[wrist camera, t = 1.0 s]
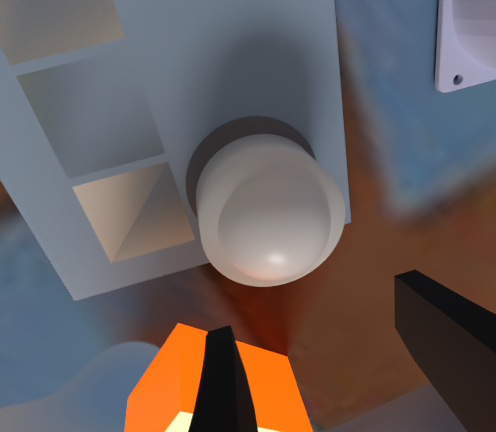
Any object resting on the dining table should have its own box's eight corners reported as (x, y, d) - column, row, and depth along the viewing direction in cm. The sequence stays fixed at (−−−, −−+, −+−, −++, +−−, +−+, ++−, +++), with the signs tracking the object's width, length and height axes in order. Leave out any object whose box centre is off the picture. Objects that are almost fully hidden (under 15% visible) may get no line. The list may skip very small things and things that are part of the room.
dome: (312, 118, 16) (362, 156, 12) (325, 230, 19) (369, 292, 15) (178, 154, 16) (182, 205, 12) (214, 262, 19) (227, 334, 15)
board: (293, -431, 10) (301, -458, 10) (346, 217, 22) (351, 223, 21) (-296, -327, 10) (-328, -350, 9) (77, 293, 21) (74, 302, 20)
